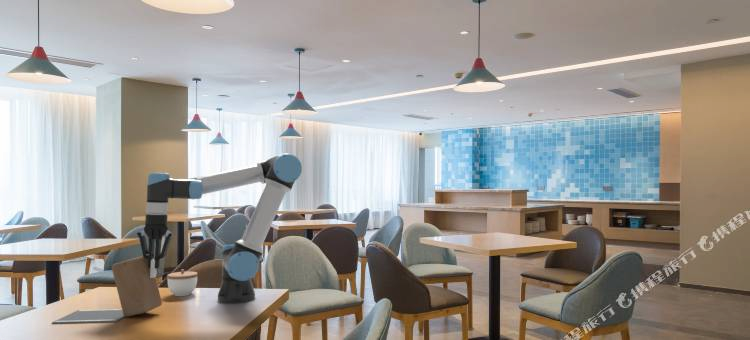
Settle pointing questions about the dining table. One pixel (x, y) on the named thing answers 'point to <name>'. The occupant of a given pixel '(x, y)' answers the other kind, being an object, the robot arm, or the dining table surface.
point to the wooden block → (136, 286)
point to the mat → (92, 316)
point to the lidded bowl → (182, 282)
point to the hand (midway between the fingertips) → (153, 277)
